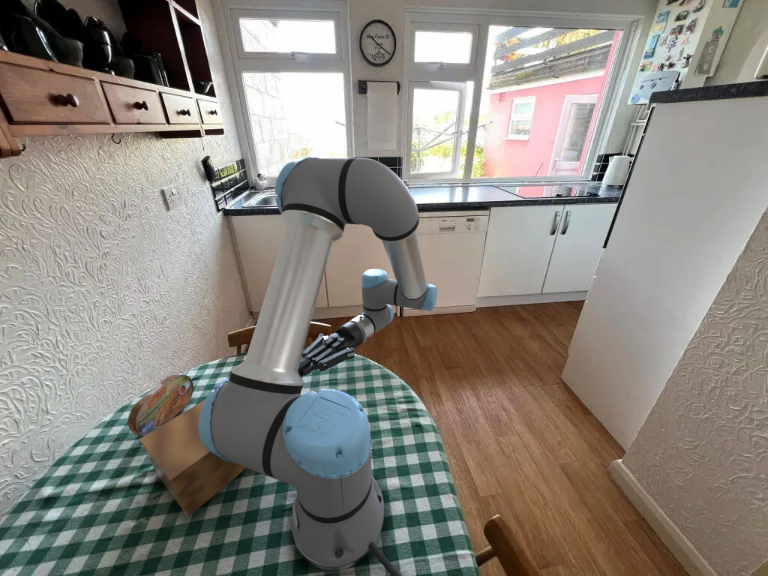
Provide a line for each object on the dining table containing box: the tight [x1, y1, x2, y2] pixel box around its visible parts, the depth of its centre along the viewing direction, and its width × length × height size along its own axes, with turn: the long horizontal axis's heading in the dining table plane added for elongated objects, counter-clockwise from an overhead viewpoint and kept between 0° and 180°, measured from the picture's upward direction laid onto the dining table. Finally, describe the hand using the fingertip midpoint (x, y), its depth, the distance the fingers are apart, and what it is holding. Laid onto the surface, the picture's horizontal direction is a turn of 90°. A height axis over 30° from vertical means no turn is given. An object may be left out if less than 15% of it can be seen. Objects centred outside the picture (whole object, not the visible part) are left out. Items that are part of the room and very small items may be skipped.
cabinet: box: [139, 398, 247, 518], centre depth 60 cm, size 15×13×10 cm
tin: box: [127, 374, 194, 437], centre depth 71 cm, size 15×3×8 cm, turn 168°
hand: (288, 378), depth 73 cm, fingers closed
